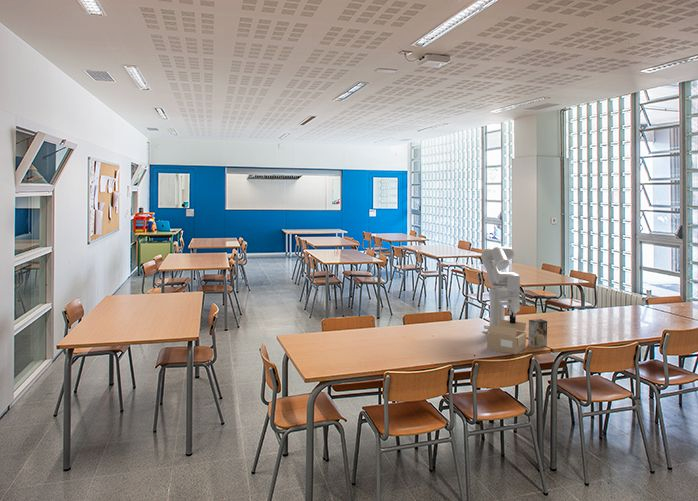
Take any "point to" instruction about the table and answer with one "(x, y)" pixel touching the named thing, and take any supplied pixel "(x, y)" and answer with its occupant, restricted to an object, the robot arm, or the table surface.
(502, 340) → the carton
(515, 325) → the far flap
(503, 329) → the near flap
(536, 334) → the coffee box
